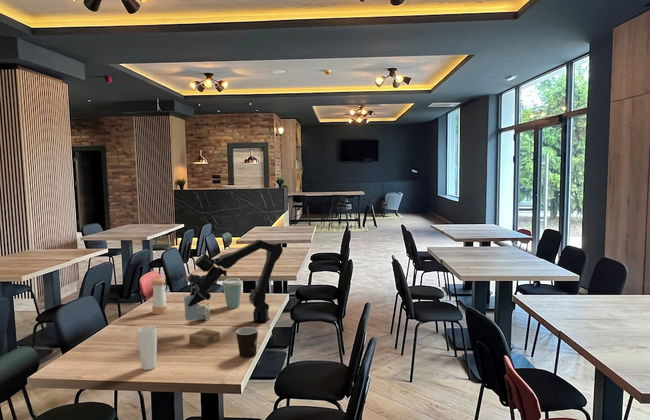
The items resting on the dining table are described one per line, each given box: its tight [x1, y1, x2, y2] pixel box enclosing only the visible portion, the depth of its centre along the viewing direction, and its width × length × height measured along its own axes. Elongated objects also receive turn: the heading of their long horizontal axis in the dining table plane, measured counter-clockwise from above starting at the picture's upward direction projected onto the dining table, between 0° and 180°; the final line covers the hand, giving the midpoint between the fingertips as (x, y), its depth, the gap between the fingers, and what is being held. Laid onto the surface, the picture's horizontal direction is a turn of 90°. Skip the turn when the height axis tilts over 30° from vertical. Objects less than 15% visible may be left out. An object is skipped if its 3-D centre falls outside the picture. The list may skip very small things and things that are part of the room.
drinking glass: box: [136, 325, 158, 371], centre depth 166 cm, size 7×7×15 cm
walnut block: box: [188, 328, 221, 348], centre depth 192 cm, size 9×9×4 cm
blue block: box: [183, 295, 199, 322], centre depth 202 cm, size 5×5×10 cm
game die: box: [198, 302, 213, 322], centre depth 221 cm, size 9×8×10 cm
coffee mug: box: [235, 326, 259, 359], centre depth 178 cm, size 12×9×10 cm
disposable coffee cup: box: [221, 277, 242, 309], centre depth 242 cm, size 11×11×15 cm
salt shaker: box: [150, 276, 168, 315], centre depth 234 cm, size 7×7×19 cm
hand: (187, 304), depth 202 cm, fingers closed on blue block, 5 cm apart
